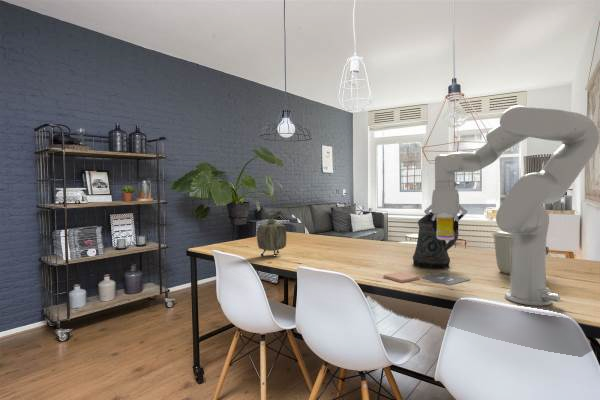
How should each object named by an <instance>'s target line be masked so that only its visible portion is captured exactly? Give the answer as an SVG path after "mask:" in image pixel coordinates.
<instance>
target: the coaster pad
mask: <svg viewBox="0 0 600 400" xmlns="http://www.w3.org/2000/svg"><path fill="white" fill-rule="evenodd" d="M382 277H383V278H385V279H388V280H392V281H394V282H395V281H396V282H399V283H407V282H412V281H417V280H420V279H421V277H420V275H416V274H412V273H408V272H404V271H396V272H391V273H385V274H383V276H382Z"/></svg>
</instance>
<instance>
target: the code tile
mask: <svg viewBox="0 0 600 400" xmlns="http://www.w3.org/2000/svg"><path fill="white" fill-rule="evenodd" d="M420 279H424V280H427V281H432V282H436V283H440V284H443V285H447V286H451V285H457V284H460V283H464V282H467V281H470V280H471V279H470V278H465V277H461V276H457V275H452V274H447V273H443V272H441V273H435V274H432V275H427V276H422V277H420Z"/></svg>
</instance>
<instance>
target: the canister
mask: <svg viewBox="0 0 600 400" xmlns="http://www.w3.org/2000/svg"><path fill="white" fill-rule="evenodd" d="M491 235H492V236H493V242H494V244H493V245H494V251H495V252H494V253H495V259H496V265H497V268H498V270H499V271H500V272H501V273H503V274H507V275H510V271H511V239H512V235H513V234H510V233H506V232H504V231H502V230H501V229H498V230H495V231H494V232H491Z"/></svg>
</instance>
